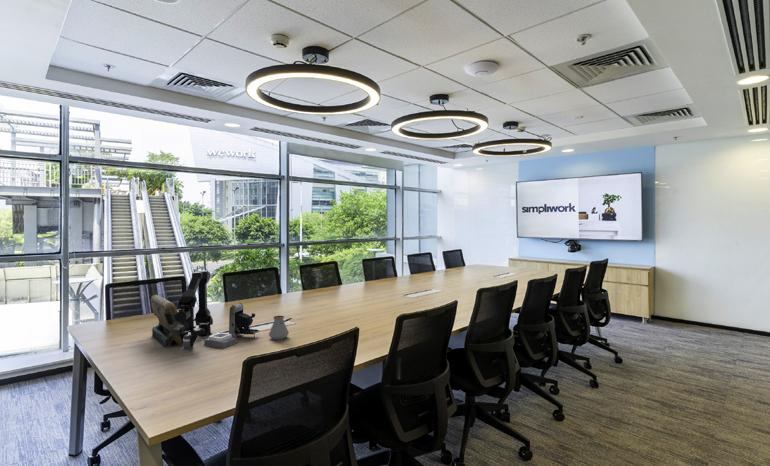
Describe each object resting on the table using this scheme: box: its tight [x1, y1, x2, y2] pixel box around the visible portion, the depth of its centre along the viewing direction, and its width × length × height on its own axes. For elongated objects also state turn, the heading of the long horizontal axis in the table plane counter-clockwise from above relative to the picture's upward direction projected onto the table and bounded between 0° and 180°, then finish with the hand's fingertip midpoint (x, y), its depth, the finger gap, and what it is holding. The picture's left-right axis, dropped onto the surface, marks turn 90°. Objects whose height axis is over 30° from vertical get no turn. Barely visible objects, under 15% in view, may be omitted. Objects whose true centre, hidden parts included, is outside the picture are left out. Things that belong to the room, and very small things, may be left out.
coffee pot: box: [268, 315, 294, 341], centre depth 233 cm, size 21×12×15 cm, turn 42°
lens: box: [182, 333, 194, 351], centre depth 216 cm, size 5×5×7 cm
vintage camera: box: [228, 302, 261, 339], centre depth 237 cm, size 10×16×20 cm, turn 79°
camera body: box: [203, 332, 238, 349], centre depth 224 cm, size 14×10×5 cm
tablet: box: [150, 294, 183, 348], centre depth 231 cm, size 33×14×25 cm, turn 48°
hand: (188, 346), depth 216 cm, fingers closed on lens, 5 cm apart
